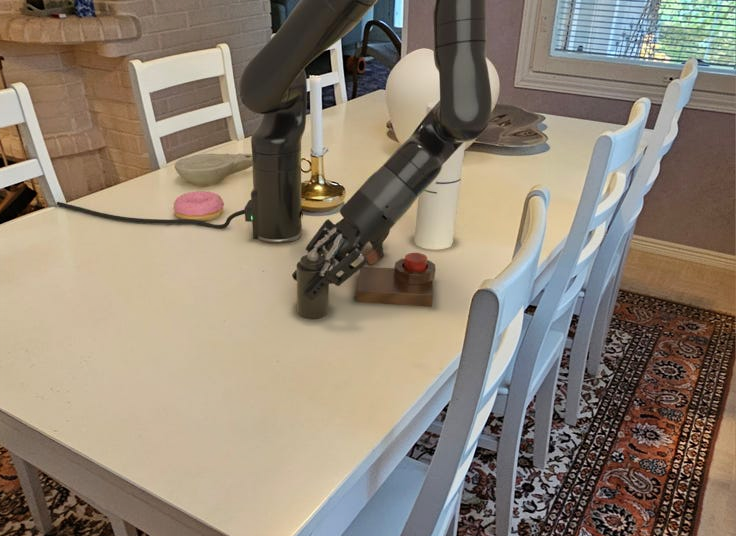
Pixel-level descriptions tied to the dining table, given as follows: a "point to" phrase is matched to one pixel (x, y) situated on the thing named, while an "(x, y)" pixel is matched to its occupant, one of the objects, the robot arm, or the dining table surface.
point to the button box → (396, 285)
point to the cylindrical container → (439, 203)
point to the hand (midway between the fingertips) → (301, 287)
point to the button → (415, 262)
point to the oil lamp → (211, 167)
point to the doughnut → (198, 206)
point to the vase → (420, 91)
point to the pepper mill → (305, 273)
